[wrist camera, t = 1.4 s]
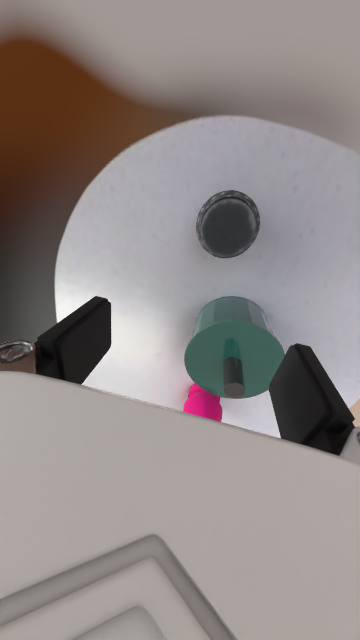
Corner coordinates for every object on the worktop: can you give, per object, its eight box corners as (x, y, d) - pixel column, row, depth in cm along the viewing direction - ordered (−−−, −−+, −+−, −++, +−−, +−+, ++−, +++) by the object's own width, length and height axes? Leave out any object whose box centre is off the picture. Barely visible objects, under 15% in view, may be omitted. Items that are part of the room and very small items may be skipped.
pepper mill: (181, 383, 43) (153, 504, 25) (215, 376, 40) (209, 505, 23) (194, 407, 45) (178, 530, 28) (227, 402, 43) (230, 534, 26)
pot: (262, 288, 30) (274, 314, 23) (271, 351, 35) (284, 389, 28) (187, 304, 34) (177, 332, 27) (204, 360, 39) (200, 396, 31)
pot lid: (278, 307, 23) (292, 334, 18) (287, 388, 28) (300, 426, 24) (173, 327, 27) (163, 353, 22) (198, 395, 32) (194, 429, 27)
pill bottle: (260, 205, 26) (282, 205, 16) (236, 252, 29) (243, 276, 19) (213, 186, 26) (209, 174, 16) (195, 235, 29) (182, 251, 19)
